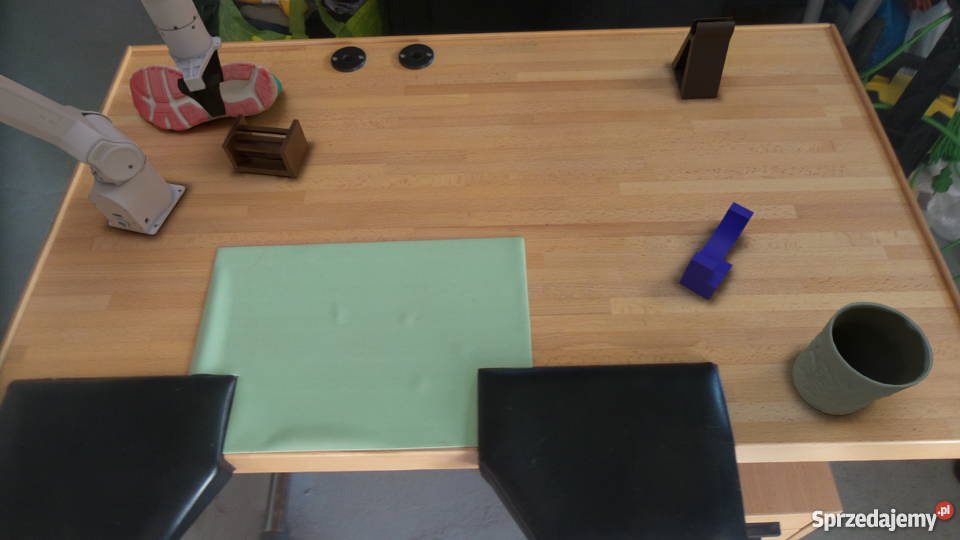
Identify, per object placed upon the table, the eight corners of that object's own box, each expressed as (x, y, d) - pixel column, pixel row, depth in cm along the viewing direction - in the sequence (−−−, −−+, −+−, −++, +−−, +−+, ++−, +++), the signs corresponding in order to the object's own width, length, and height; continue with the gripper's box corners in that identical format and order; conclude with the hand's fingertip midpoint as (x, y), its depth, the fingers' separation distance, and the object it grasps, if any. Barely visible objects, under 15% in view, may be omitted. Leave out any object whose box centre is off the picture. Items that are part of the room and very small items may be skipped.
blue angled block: (708, 300, 77) (723, 277, 72) (679, 282, 79) (691, 258, 74) (748, 243, 82) (764, 217, 77) (719, 227, 83) (733, 201, 78)
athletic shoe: (300, 102, 102) (274, 32, 98) (280, 107, 93) (251, 30, 89) (170, 140, 106) (140, 75, 102) (139, 148, 97) (105, 77, 93)
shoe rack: (295, 178, 91) (283, 151, 86) (236, 172, 92) (221, 145, 87) (309, 146, 94) (298, 119, 89) (252, 141, 95) (238, 113, 90)
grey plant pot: (885, 386, 70) (951, 345, 60) (841, 440, 67) (903, 407, 57) (811, 330, 74) (861, 284, 64) (766, 379, 71) (811, 338, 61)
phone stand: (671, 65, 103) (690, 3, 93) (704, 64, 103) (727, 2, 93) (681, 99, 98) (702, 38, 88) (716, 98, 98) (741, 37, 88)
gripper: (207, 44, 72) (247, 124, 84) (205, -19, 80) (242, 63, 91) (150, 55, 71) (198, 134, 83) (153, -9, 79) (197, 71, 90)
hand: (218, 97), depth 87 cm, fingers open, 7 cm apart
